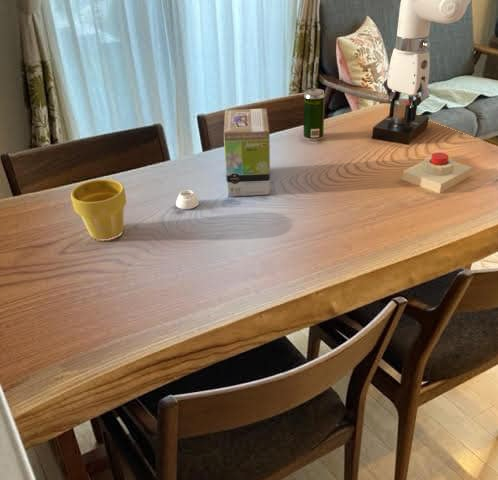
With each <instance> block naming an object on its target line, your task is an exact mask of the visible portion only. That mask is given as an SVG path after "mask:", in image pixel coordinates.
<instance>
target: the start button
mask: <svg viewBox="0 0 498 480" xmlns="http://www.w3.org/2000/svg"><path fill="white" fill-rule="evenodd" d="M431 156H432V157H431V164H434V165H440V166H442V165H447V162H448V158H450V157H449V155H448V154H447V153H445V152H434V153H432V154H431Z"/></svg>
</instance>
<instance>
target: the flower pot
mask: <svg viewBox="0 0 498 480" xmlns="http://www.w3.org/2000/svg"><path fill="white" fill-rule="evenodd" d="M70 199H71V204H72V206H73V209H74V211H75V212H76V214H77V215H79V216H80V218H81V220H82V222H83V224H84V226H85V228H86V230H87V231H88V233H89V235H90V237H91V236H92V237H94V238H97V239H109V238H112V237H115V236H118V235H119V234H120V233H121V232H122V231H123V232H122V234H121V235H120V236H118V237H116V238H114V239H111V240H104V241H103V242H110V241H115V240H117V239H118V238H120V237H121V236H122V235H123V233H124V211H125V210H124V209H125V207H126V204H127V196H126V191H125V187H124V185H123V183H121V182H120V181H118V180H115V179H110V178H97V179H92V180H88V181H84V182H82V183H79V184H78V185H76V186H75V187H74V188H73V189H72V190H71V192H70ZM92 237H91V238H92ZM93 240H94V241H97V242H102V241H101V240H95V239H93Z"/></svg>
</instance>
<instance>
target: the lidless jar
mask: <svg viewBox="0 0 498 480" xmlns="http://www.w3.org/2000/svg"><path fill="white" fill-rule="evenodd" d="M199 204H200V200H199V198H198V196H197V195H196V194H195V193H194V191H193V190H191V189H184V190H181V191H179V194H178V196H177V198H176V201H175V206H176V207H177V208H178V209H181V210H191V209H194V208H196V207H197V206H199Z"/></svg>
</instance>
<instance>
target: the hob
mask: <svg viewBox="0 0 498 480" xmlns="http://www.w3.org/2000/svg"><path fill="white" fill-rule="evenodd" d="M392 119H393V117H389V114H388V115H387V116H386V117H384V118H383V119H382V120H380V121H379V122H378V123H376V124H375V125H374V126H373V127H372V135H371V139H372V140H373V139H374V140H378V141H384V142H388V143H389V142H390V143H395V144H401V145H407V146H409V145H410V144H411V143H412V142H413V141H414V140H415V139H416V138H417V137H418V136H419V135H421V134H422V133H423V132H424V131H425V130H426V129H427V128H428V126H429V119H430V116H428V115H422V114H416V117H415V120H414V121H412V122H411V123H409V124H406V125H398V124H395V123H393V122H392Z"/></svg>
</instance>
